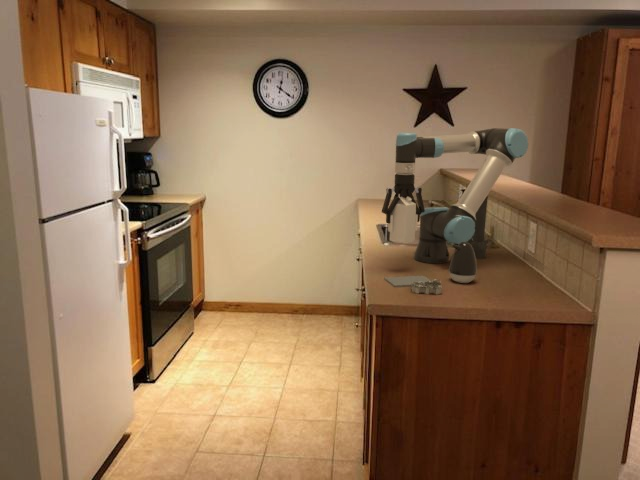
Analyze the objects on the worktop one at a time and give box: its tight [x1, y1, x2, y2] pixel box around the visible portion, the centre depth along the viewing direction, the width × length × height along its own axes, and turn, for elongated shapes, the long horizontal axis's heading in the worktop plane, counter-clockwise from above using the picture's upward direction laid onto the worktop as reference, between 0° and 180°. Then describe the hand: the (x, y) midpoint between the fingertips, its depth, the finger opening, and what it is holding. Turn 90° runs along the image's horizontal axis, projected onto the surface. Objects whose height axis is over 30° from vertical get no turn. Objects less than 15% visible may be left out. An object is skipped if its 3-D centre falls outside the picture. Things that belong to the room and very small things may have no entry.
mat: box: [383, 275, 432, 288], centre depth 199 cm, size 16×10×1 cm, turn 104°
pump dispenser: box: [448, 241, 478, 284], centre depth 199 cm, size 10×10×15 cm
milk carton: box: [389, 194, 417, 244], centre depth 208 cm, size 7×7×19 cm
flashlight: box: [470, 195, 489, 260], centre depth 238 cm, size 7×28×7 cm
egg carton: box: [410, 278, 443, 295], centre depth 187 cm, size 11×8×4 cm
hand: (402, 230), depth 209 cm, fingers closed on milk carton, 10 cm apart
